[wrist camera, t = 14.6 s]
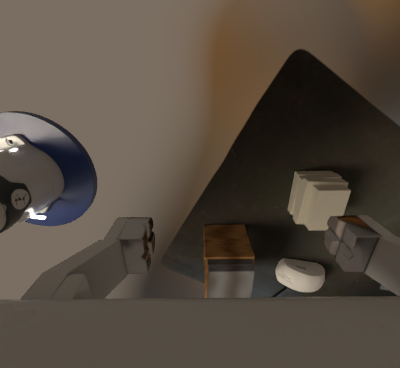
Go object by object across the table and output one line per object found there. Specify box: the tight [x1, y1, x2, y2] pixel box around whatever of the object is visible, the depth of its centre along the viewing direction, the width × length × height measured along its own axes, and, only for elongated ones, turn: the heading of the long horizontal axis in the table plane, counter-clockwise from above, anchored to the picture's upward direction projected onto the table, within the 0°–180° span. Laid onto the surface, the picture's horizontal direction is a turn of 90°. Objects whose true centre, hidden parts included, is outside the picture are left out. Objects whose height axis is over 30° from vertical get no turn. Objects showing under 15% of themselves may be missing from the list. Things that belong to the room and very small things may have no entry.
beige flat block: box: [304, 185, 351, 230], centre depth 42 cm, size 6×9×2 cm, turn 0°
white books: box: [288, 171, 348, 224], centre depth 46 cm, size 9×10×6 cm
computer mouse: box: [276, 258, 325, 292], centre depth 56 cm, size 6×13×6 cm, turn 78°
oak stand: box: [204, 224, 255, 298], centre depth 48 cm, size 10×12×14 cm
